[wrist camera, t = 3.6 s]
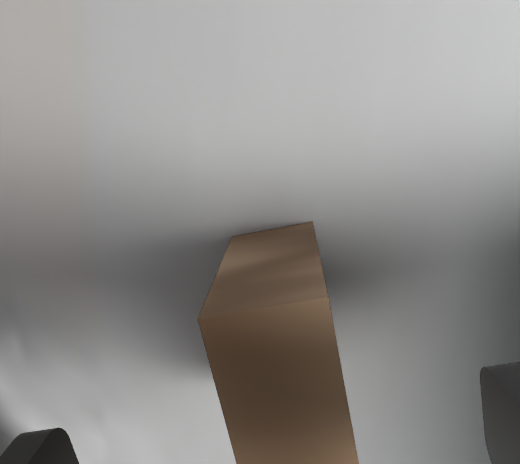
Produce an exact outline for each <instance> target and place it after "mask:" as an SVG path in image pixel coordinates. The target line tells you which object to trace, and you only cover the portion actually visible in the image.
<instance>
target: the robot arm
mask: <svg viewBox="0 0 520 464" xmlns="http://www.w3.org/2000/svg"><path fill="white" fill-rule="evenodd" d="M480 384H481V395H482V407H483V419H484V430H485V440H486V445H487V450H488V453H489V456H490V460H491V462H492V464H520V362H516V363H509V364H502V365H495V366H489V367H483V368H482V369H481V372H480ZM0 464H79V462H78V459H77V457H76V454H75V452H74V449H73V446H72V444H71V441H70V438H69V436H68V434H67V432H66V431H65V430H64V429H62V428H54V429H47V430H40V431H34V432H27V433H22V434H20V435H18V436H17V437H16V438H15V439H14V440H13V441H12V443H11V444H10V445H9V446H8V448H7V449H6V450H5V451H4V453H3V454H2V455H1V456H0Z"/></svg>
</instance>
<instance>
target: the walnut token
mask: <svg viewBox="0 0 520 464" xmlns="http://www.w3.org/2000/svg"><path fill="white" fill-rule="evenodd" d="M198 323H199V326H200V330H201V334H202V337H203V341H204V345H205V348H206V352H207V356H208V360H209V363H210V367H211V371H212V374H213V378H214V382H215V385H216V389H217V393H218V397H219V400H220V404H221V408H222V411H223V415H224V419H225V422H226V426H227V430H228V433H229V437H230V441H231V445H232V448H233V452H234V456H235V459H236V463H237V464H359V462H358V457H357V451H356V446H355V440H354V435H353V429H352V424H351V418H350V413H349V407H348V402H347V396H346V391H345V386H344V380H343V375H342V369H341V364H340V358H339V353H338V347H337V342H336V336H335V331H334V325H333V320H332V314H331V309H330V303H329V298H328V293H327V288H326V284H325V279H324V274H323V269H322V264H321V260H320V255H319V250H318V245H317V241H316V236H315V231H314V226H313V222H307V223H302V224H297V225H291V226H286V227H280V228H275V229H270V230H264V231H259V232H254V233H248V234H243V235H237V236H232V238H231V240H230V243H229V245H228V247H227V250H226V252H225V255H224V257H223V259H222V262H221V264H220V266H219V269H218V271H217V274H216V276H215V278H214V281H213V283H212V286H211V288H210V290H209V293H208V295H207V297H206V300H205V302H204V305H203V307H202V309H201V312H200V314H199V316H198Z"/></svg>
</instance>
